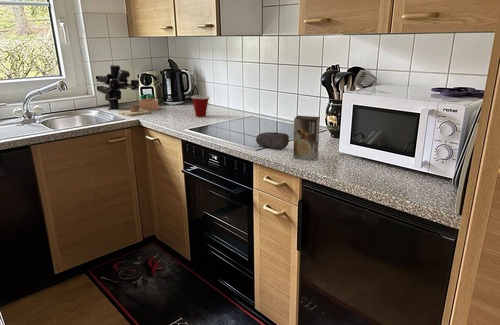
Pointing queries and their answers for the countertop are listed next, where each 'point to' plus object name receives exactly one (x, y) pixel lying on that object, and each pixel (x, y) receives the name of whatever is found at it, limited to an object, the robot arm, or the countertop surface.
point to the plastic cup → (200, 105)
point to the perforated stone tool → (273, 140)
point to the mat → (130, 116)
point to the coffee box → (306, 137)
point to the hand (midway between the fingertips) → (131, 87)
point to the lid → (134, 111)
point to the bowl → (148, 104)
